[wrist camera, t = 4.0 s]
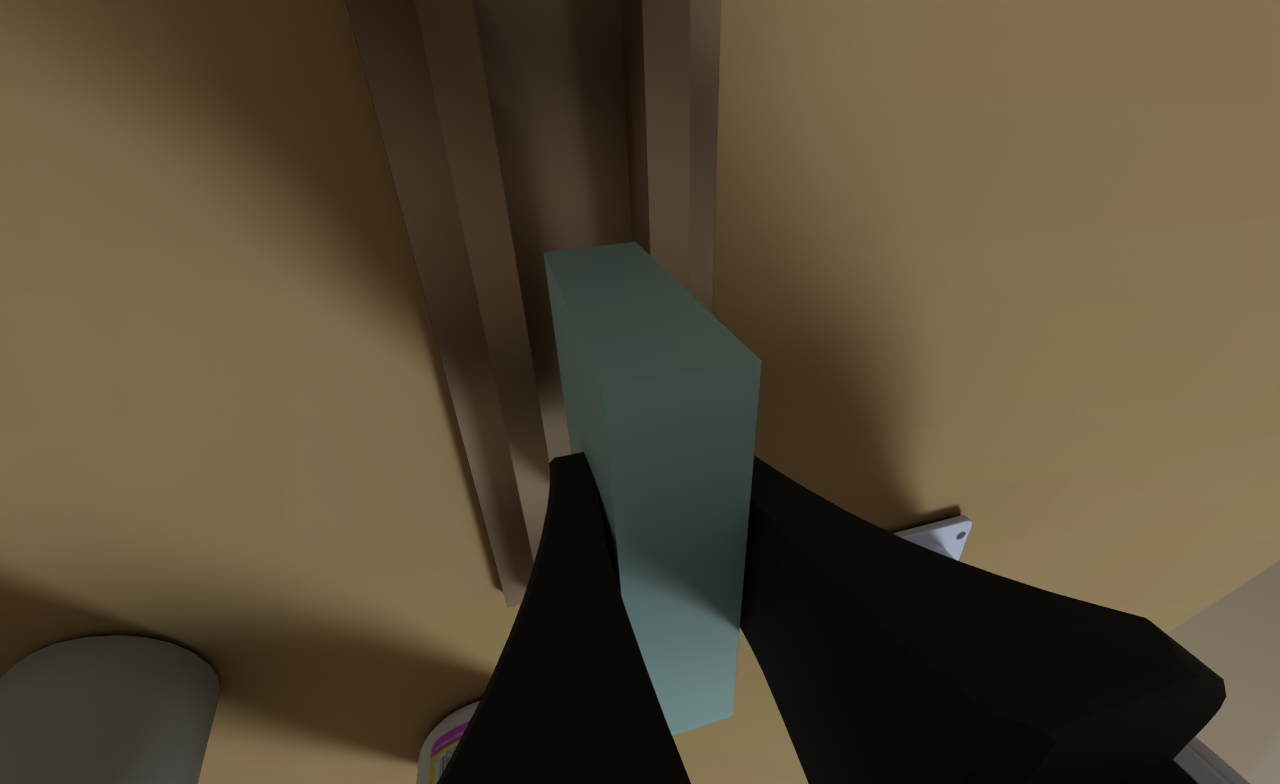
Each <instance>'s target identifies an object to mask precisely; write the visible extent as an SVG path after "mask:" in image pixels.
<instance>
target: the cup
mask: <svg viewBox="0 0 1280 784" xmlns="http://www.w3.org/2000/svg"><path fill="white" fill-rule="evenodd" d="M219 694H220V684H219V679H218V676H217V675H216V673H215V672H214V670H213V669H212V668H211V666H210V665H209V664H208V663H207V662H205V661H204V660H202V659H201V658H200V657H198V656H197V655H195V654H194V653H193V652H191V651H189V650H187V649H184V648H182V647H179V646H177V645H175V644H172V643H170V642H166V641H161V640H157V639H152V638H148V637H139V636H126V635H111V636H94V637H84V638H79V639H75V640H70V641H65V642H60V643H55V644H53V645H50V646H48V647H45V648H43V649H40V650H38V651H35V652H33V653H31V654H29V655H28V656H26V657H25V658H23V659H22V660H21V661H19V662H18V663H16V664H15V665H13V666H12V667H11V668H10V669H9V670H8V671H7V672H6V673H5V674H4V675H3V676H2V677H1V678H0V784H198V780H199V776H200V772H201V768H202V764H203V759H204V755H205V751H206V747H207V743H208V739H209V735H210V731H211V727H212V723H213V719H214V715H215V711H216V707H217V703H218V698H219Z"/></svg>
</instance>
